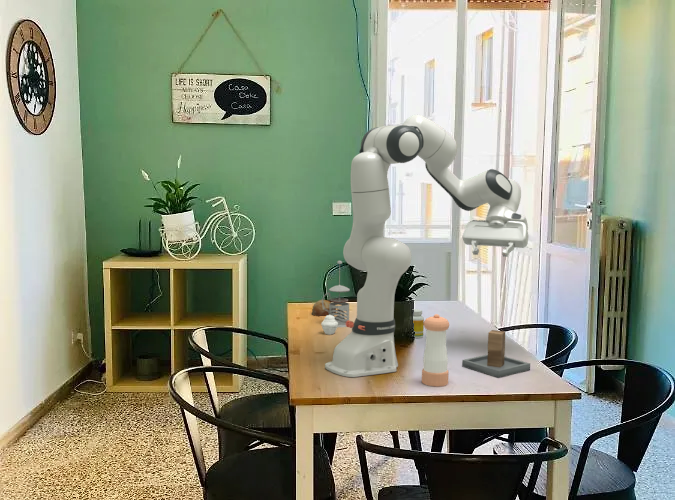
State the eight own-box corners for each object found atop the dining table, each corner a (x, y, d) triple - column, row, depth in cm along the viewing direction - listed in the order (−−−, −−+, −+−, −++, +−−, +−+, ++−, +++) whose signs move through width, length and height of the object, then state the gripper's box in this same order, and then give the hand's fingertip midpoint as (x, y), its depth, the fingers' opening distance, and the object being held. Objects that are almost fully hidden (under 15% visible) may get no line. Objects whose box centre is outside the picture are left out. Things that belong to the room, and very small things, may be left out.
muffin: (318, 334, 236) (318, 315, 236) (324, 331, 242) (324, 312, 241) (334, 336, 234) (335, 316, 234) (340, 332, 240) (340, 313, 239)
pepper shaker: (453, 382, 182) (455, 314, 180) (438, 388, 176) (440, 318, 174) (431, 377, 186) (432, 310, 184) (416, 382, 181) (418, 314, 179)
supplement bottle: (405, 336, 234) (405, 310, 233) (414, 334, 238) (414, 308, 237) (417, 339, 231) (418, 312, 230) (426, 336, 235) (427, 310, 234)
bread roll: (313, 320, 277) (305, 304, 275) (334, 309, 279) (326, 293, 277) (319, 325, 267) (311, 308, 266) (341, 314, 270) (333, 297, 268)
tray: (498, 377, 186) (498, 371, 186) (462, 366, 197) (462, 359, 197) (530, 370, 194) (530, 363, 194) (493, 359, 205) (493, 353, 205)
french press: (349, 327, 248) (350, 262, 245) (319, 326, 250) (320, 261, 247) (353, 322, 257) (354, 259, 255) (324, 321, 259) (324, 258, 257)
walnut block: (500, 367, 193) (501, 334, 192) (487, 365, 195) (488, 332, 194) (504, 364, 196) (505, 331, 195) (491, 362, 198) (492, 330, 197)
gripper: (466, 213, 213) (455, 245, 205) (530, 215, 203) (521, 249, 195) (470, 226, 217) (459, 258, 210) (532, 229, 207) (524, 263, 200)
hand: (489, 254), depth 202 cm, fingers open, 8 cm apart
